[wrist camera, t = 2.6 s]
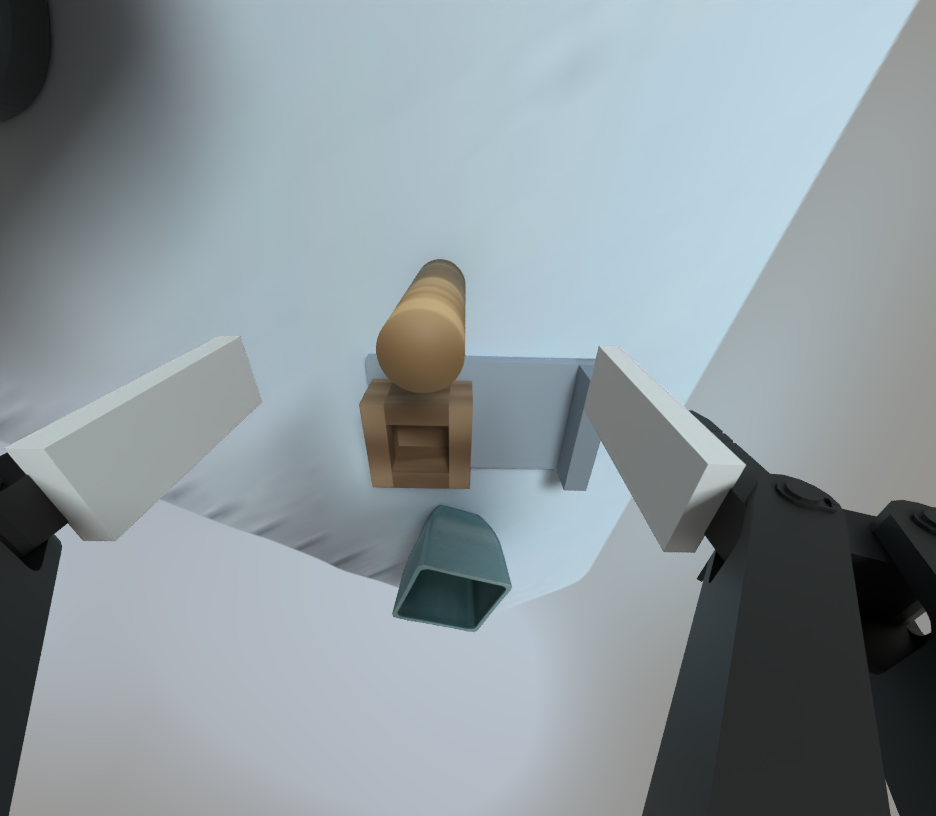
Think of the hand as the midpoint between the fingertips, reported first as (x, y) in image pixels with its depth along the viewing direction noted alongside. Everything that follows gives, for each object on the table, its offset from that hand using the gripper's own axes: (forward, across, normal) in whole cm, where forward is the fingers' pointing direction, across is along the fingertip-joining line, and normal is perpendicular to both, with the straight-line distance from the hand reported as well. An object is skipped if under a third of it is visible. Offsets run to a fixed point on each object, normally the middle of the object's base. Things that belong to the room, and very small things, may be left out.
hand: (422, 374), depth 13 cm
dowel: (+14, 0, 0) cm, 14 cm away
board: (+14, +3, -10) cm, 18 cm away
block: (+13, -2, -11) cm, 17 cm away
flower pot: (+15, +1, -26) cm, 29 cm away
